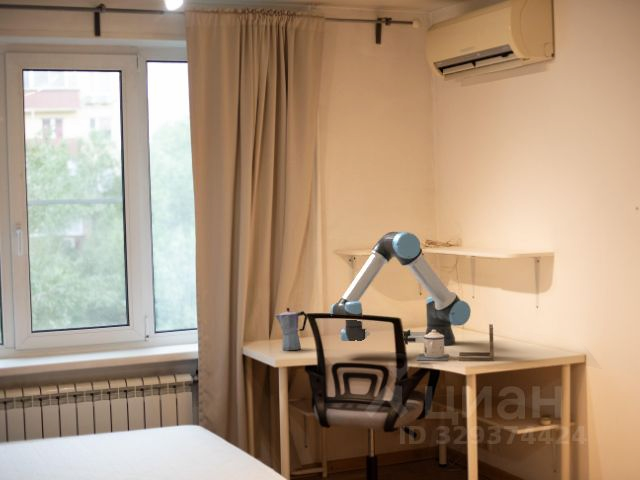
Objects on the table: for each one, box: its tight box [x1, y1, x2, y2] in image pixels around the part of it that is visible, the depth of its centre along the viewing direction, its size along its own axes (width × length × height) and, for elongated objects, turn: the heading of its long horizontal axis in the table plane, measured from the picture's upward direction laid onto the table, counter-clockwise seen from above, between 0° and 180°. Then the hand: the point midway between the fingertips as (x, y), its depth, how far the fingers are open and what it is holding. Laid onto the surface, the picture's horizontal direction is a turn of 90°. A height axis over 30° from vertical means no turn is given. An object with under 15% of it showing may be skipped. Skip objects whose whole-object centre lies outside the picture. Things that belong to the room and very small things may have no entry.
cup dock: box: [458, 323, 495, 362], centre depth 372 cm, size 13×15×14 cm
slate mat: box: [416, 353, 449, 362], centre depth 375 cm, size 14×13×1 cm
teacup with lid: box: [423, 330, 445, 358], centre depth 375 cm, size 12×9×12 cm
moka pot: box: [274, 307, 308, 352], centre depth 409 cm, size 10×15×20 cm, turn 95°
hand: (424, 337), depth 375 cm, fingers open, 13 cm apart
